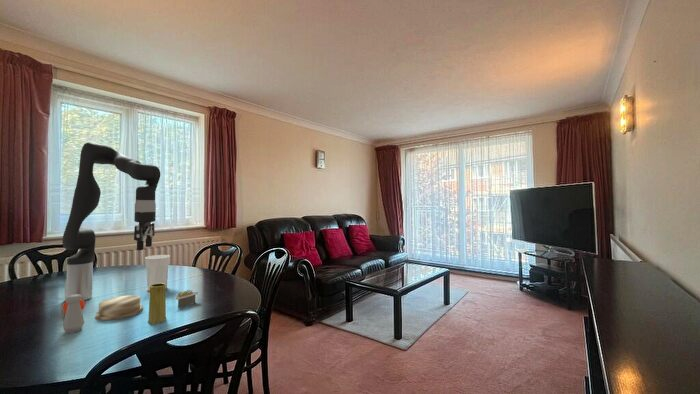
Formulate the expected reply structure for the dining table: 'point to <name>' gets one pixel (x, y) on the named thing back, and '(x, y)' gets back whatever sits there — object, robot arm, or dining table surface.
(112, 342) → the dining table surface
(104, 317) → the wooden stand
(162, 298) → the vase
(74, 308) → the salt shaker
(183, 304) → the platform
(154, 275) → the cup
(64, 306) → the clementine
